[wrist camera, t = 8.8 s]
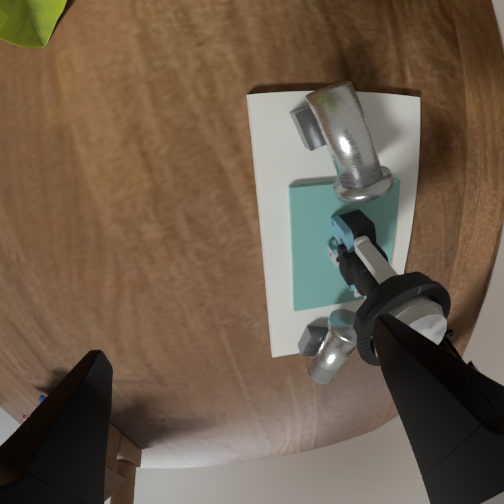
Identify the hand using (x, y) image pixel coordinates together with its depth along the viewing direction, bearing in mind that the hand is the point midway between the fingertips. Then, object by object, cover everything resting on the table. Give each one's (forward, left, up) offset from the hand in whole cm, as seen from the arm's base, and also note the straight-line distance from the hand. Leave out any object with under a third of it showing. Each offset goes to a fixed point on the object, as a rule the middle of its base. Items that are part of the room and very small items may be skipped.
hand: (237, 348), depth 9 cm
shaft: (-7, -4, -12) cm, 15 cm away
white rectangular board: (-8, +4, -12) cm, 15 cm away
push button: (-8, +4, -11) cm, 14 cm away
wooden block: (+23, +34, -13) cm, 43 cm away
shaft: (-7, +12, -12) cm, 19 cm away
